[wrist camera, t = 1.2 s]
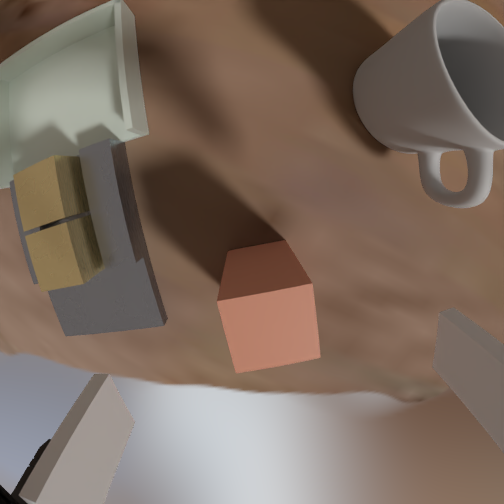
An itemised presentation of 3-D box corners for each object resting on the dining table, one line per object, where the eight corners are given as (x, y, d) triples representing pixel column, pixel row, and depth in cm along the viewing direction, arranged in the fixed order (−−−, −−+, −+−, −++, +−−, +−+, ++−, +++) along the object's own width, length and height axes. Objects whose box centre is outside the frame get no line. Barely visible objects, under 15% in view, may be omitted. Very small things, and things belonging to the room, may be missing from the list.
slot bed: (28, 180, 20) (9, 182, 17) (124, 141, 19) (109, 138, 17) (71, 330, 23) (57, 344, 20) (167, 318, 23) (159, 335, 20)
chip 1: (45, 172, 18) (13, 175, 15) (83, 156, 18) (53, 155, 14) (54, 222, 19) (24, 231, 16) (94, 209, 19) (65, 217, 15)
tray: (8, 80, 17) (-14, 74, 14) (134, 16, 17) (120, -3, 13) (14, 186, 20) (-10, 190, 16) (149, 134, 19) (132, 127, 16)
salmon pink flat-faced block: (227, 250, 22) (216, 301, 13) (285, 239, 22) (312, 283, 13) (238, 301, 23) (236, 373, 14) (293, 290, 22) (320, 357, 14)
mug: (344, 48, 18) (409, -25, 7) (432, 63, 18) (517, 25, 7) (359, 199, 21) (451, 223, 10) (446, 197, 21) (545, 219, 10)
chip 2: (55, 225, 19) (24, 236, 16) (94, 213, 19) (66, 222, 16) (68, 274, 20) (41, 292, 17) (108, 265, 20) (83, 284, 16)
